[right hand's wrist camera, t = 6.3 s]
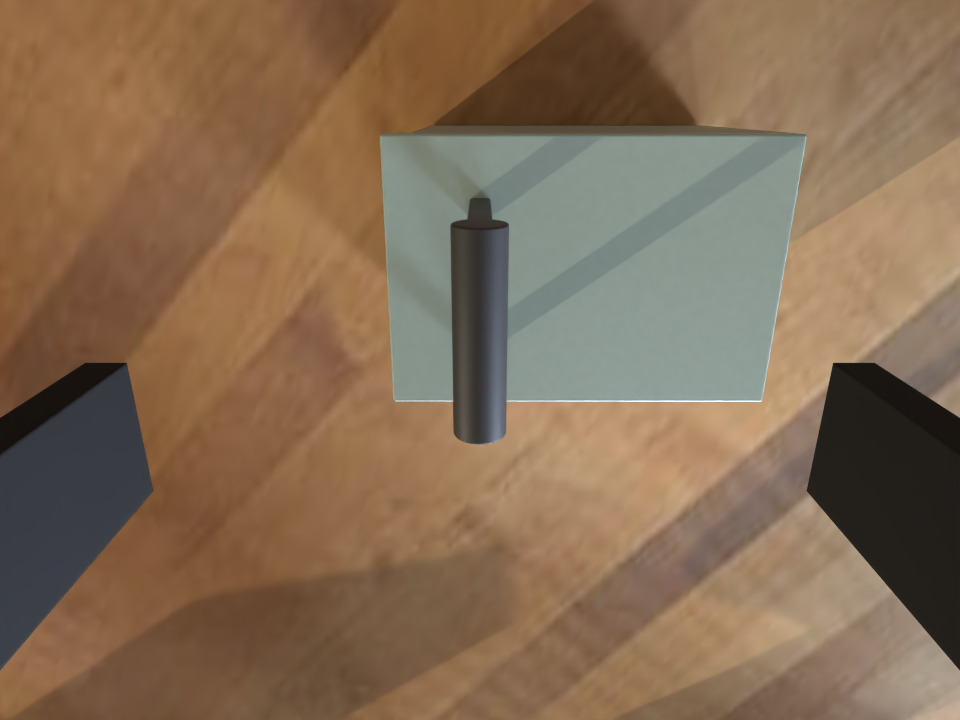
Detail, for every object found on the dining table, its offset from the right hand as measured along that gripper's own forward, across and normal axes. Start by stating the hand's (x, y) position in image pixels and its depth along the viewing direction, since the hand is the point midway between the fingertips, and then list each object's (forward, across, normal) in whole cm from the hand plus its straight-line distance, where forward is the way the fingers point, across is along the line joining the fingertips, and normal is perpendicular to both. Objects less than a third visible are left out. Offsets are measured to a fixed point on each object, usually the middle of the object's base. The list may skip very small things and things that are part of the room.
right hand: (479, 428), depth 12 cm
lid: (+12, -4, 0) cm, 13 cm away
